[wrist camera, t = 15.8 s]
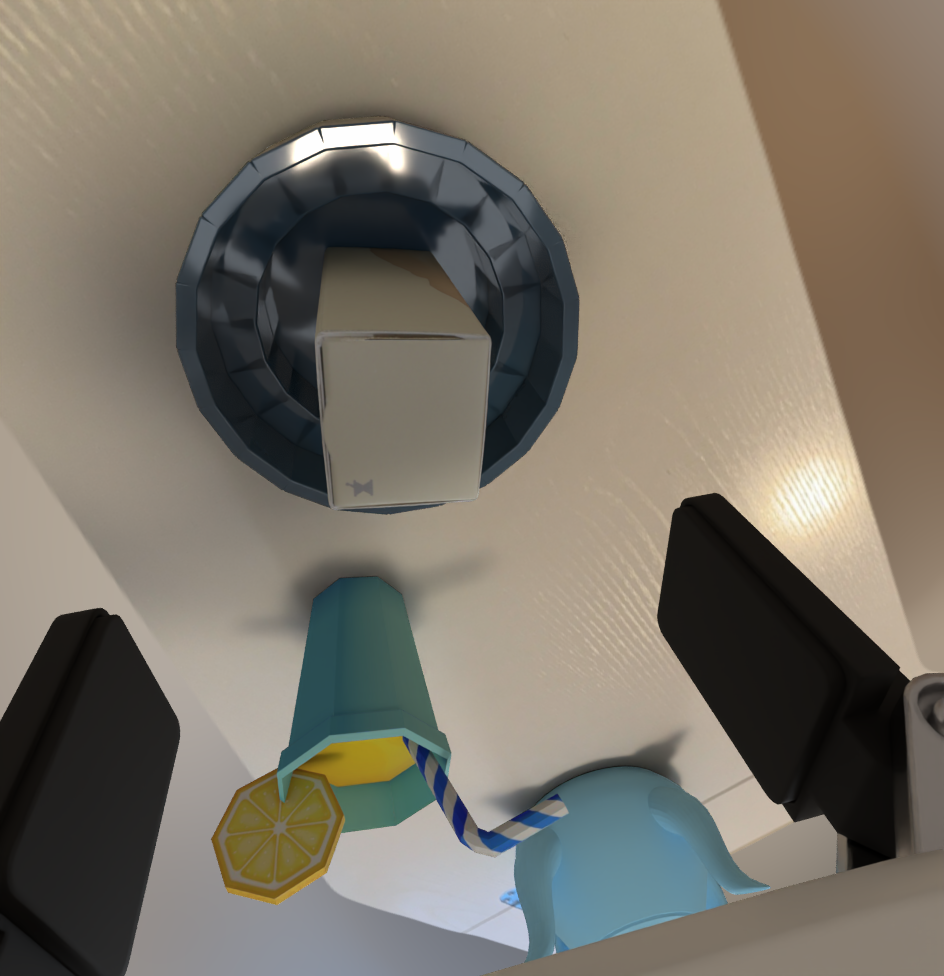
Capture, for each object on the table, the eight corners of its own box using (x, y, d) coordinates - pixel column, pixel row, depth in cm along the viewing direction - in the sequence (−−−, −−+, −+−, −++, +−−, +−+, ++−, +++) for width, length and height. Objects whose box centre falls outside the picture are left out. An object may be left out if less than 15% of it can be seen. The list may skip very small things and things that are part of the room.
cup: (468, 514, 32) (554, 777, 19) (503, 608, 36) (590, 870, 24) (224, 600, 32) (153, 919, 19) (288, 683, 36) (265, 985, 24)
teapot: (680, 719, 47) (774, 887, 37) (697, 820, 58) (774, 972, 48) (480, 793, 47) (519, 980, 37) (534, 880, 58) (576, 1044, 48)
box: (429, 369, 26) (479, 513, 17) (329, 369, 25) (326, 521, 16) (433, 242, 23) (496, 334, 14) (321, 238, 22) (311, 333, 13)
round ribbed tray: (260, 460, 27) (244, 539, 23) (158, 133, 20) (101, 143, 15) (532, 419, 29) (572, 484, 24) (530, 103, 22) (587, 103, 17)
